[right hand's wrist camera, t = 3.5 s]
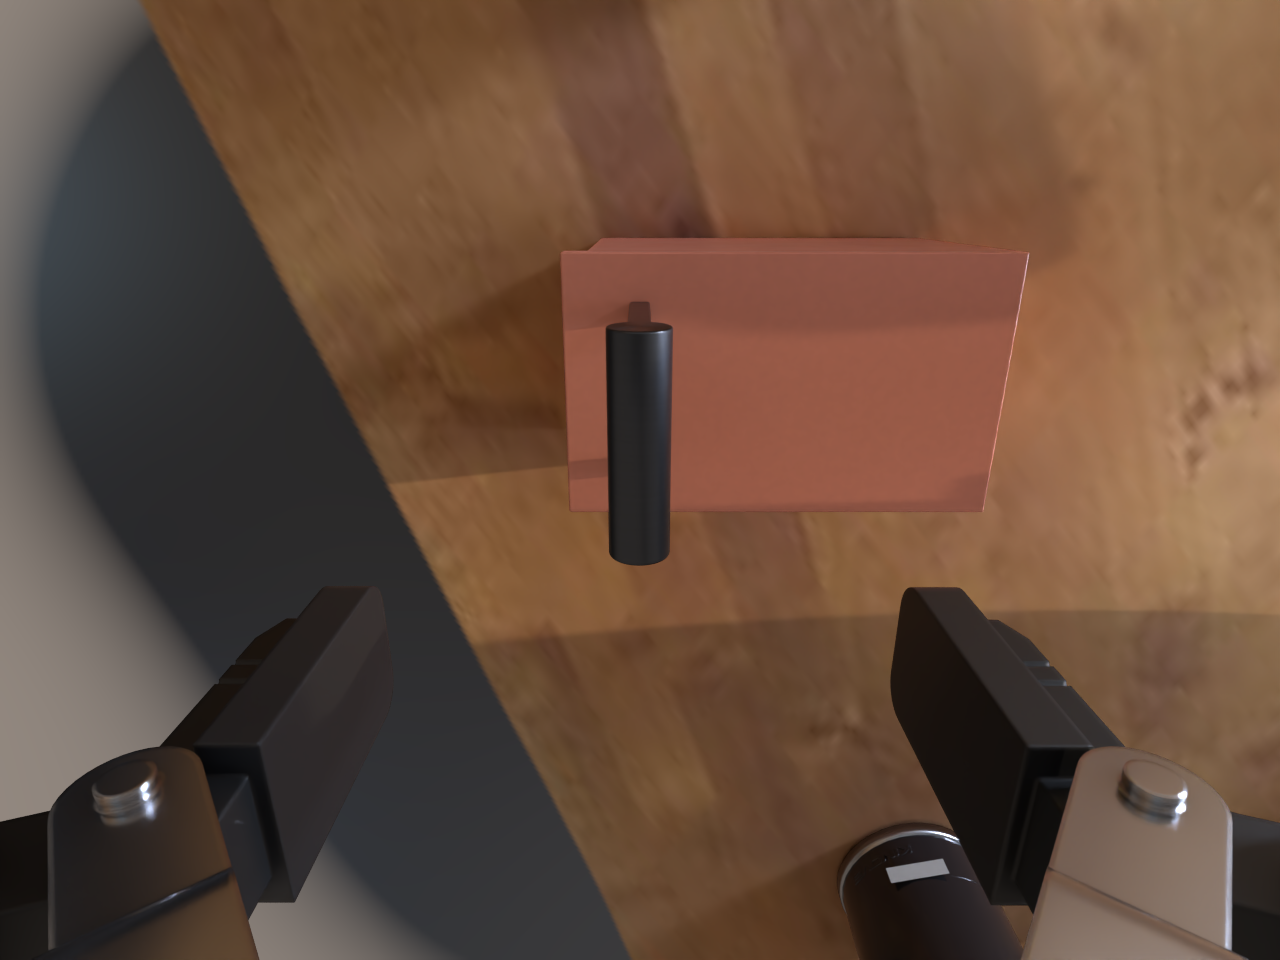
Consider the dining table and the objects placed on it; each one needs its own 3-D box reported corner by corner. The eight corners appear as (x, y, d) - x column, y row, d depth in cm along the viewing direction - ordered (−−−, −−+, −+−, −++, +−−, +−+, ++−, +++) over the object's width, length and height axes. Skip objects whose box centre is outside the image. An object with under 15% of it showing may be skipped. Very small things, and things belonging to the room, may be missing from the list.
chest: (604, 431, 38) (592, 503, 29) (600, 238, 35) (586, 250, 26) (893, 431, 38) (974, 503, 29) (918, 237, 35) (1018, 250, 26)
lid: (571, 504, 29) (546, 611, 21) (562, 250, 26) (528, 271, 18) (974, 504, 29) (1094, 612, 21) (1018, 250, 26) (1179, 270, 18)
